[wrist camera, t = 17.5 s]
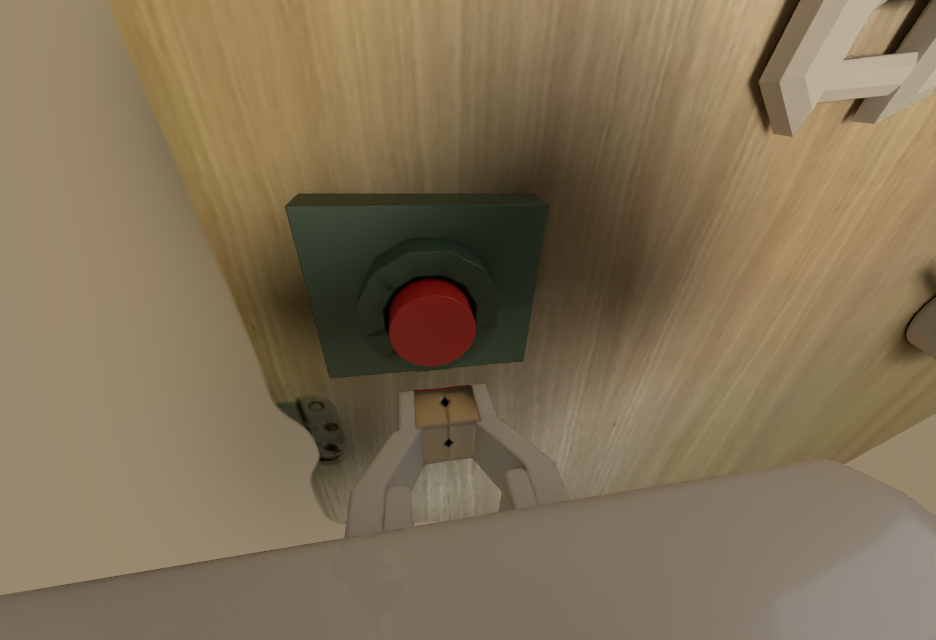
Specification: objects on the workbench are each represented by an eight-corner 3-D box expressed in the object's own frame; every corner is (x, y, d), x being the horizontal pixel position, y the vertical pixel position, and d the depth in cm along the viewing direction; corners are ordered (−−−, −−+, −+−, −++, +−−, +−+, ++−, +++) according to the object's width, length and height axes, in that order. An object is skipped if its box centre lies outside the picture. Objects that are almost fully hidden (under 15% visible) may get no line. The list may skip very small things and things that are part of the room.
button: (393, 348, 17) (392, 370, 16) (385, 279, 15) (384, 298, 14) (468, 342, 18) (474, 363, 17) (471, 276, 16) (478, 293, 14)
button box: (335, 355, 21) (323, 401, 18) (297, 194, 16) (270, 217, 13) (513, 341, 23) (532, 381, 20) (534, 193, 18) (565, 214, 15)
